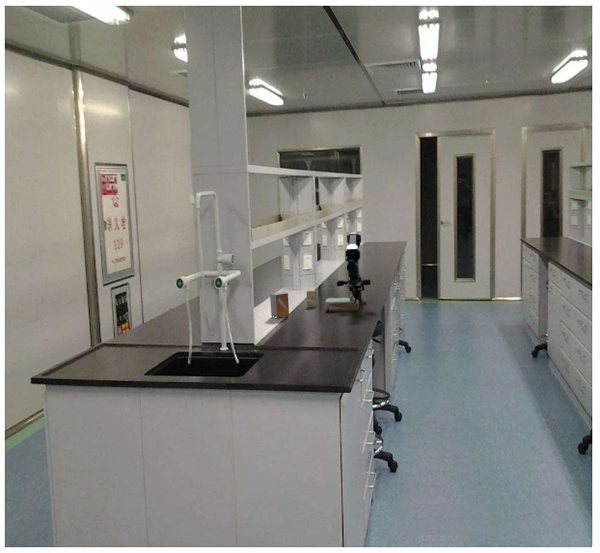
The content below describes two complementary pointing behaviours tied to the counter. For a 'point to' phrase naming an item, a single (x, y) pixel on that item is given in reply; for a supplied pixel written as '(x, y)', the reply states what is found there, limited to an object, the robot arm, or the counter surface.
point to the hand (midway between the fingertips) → (354, 297)
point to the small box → (279, 304)
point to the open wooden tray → (344, 306)
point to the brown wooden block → (311, 298)
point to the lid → (340, 300)
